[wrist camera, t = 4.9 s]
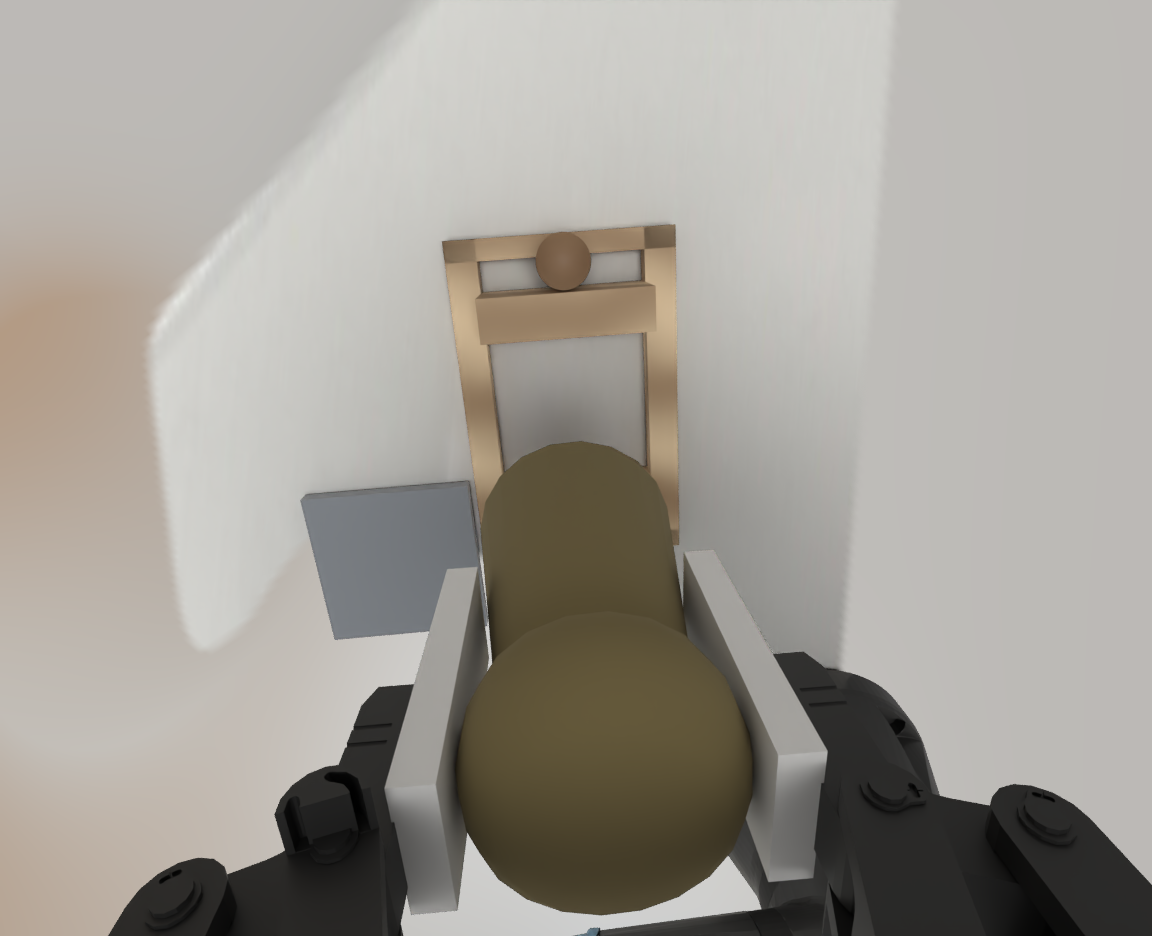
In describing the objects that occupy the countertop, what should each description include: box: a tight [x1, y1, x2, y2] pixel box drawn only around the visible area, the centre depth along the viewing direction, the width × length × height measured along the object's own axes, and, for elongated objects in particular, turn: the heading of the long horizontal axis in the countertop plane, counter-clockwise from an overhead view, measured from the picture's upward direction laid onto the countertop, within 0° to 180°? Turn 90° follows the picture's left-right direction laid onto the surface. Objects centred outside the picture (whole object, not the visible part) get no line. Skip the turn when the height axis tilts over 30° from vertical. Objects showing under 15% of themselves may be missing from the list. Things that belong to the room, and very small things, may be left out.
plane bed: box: [442, 224, 679, 545], centre depth 30 cm, size 17×11×6 cm, turn 4°
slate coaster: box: [300, 481, 488, 640], centre depth 35 cm, size 9×9×1 cm
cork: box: [455, 441, 753, 915], centre depth 15 cm, size 6×6×11 cm
